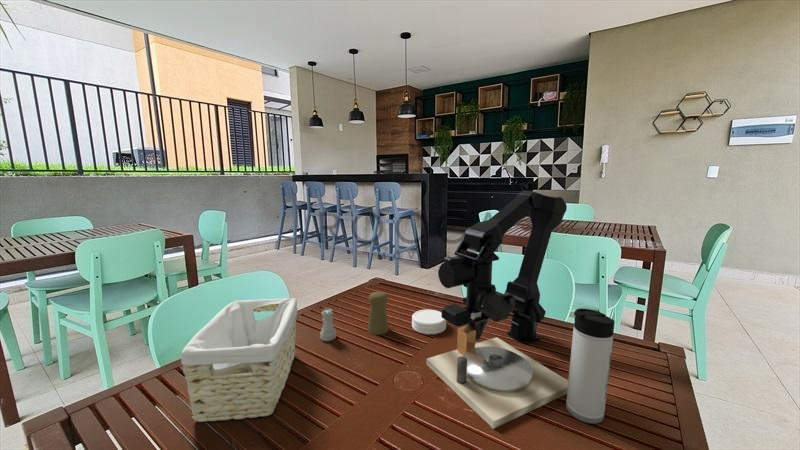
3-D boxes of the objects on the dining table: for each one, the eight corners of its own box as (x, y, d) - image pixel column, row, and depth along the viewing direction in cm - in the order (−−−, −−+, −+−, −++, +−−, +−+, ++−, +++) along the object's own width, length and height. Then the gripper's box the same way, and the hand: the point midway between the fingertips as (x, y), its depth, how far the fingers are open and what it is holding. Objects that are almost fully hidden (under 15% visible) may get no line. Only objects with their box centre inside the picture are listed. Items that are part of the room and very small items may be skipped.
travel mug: (557, 401, 65) (566, 305, 62) (589, 399, 65) (599, 304, 62) (577, 425, 59) (587, 320, 55) (611, 423, 59) (624, 319, 56)
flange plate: (546, 375, 70) (548, 350, 69) (501, 402, 62) (502, 374, 61) (482, 339, 85) (483, 319, 84) (438, 358, 77) (438, 335, 76)
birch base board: (496, 342, 87) (497, 319, 86) (573, 390, 68) (575, 362, 67) (426, 364, 77) (426, 338, 76) (493, 428, 58) (495, 395, 57)
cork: (385, 335, 91) (385, 298, 89) (365, 333, 92) (364, 296, 90) (390, 325, 96) (390, 290, 95) (371, 323, 98) (370, 288, 96)
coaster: (451, 324, 98) (451, 313, 97) (436, 339, 89) (437, 326, 89) (422, 316, 103) (422, 306, 102) (405, 329, 95) (405, 318, 94)
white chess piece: (339, 335, 90) (339, 308, 89) (329, 343, 86) (329, 314, 85) (326, 332, 92) (325, 305, 91) (316, 339, 88) (315, 311, 87)
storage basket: (234, 355, 81) (229, 298, 78) (302, 351, 83) (299, 295, 80) (183, 430, 57) (174, 352, 55) (279, 422, 59) (274, 347, 57)
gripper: (474, 299, 67) (472, 368, 70) (533, 282, 77) (529, 343, 79) (440, 283, 76) (439, 345, 79) (496, 269, 86) (493, 325, 89)
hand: (476, 339), depth 81 cm, fingers closed
